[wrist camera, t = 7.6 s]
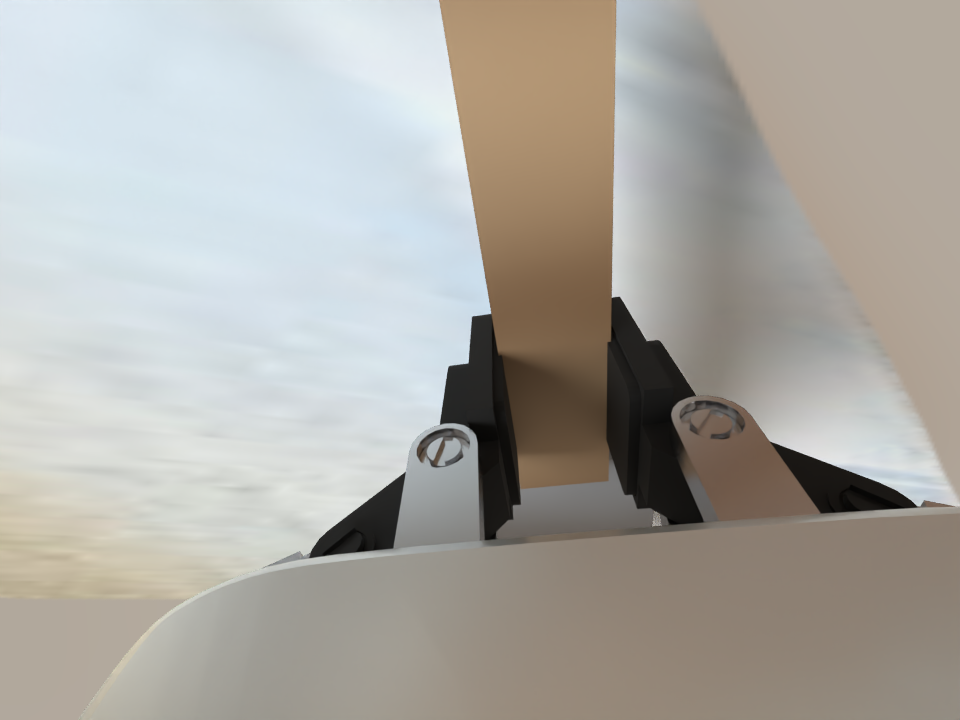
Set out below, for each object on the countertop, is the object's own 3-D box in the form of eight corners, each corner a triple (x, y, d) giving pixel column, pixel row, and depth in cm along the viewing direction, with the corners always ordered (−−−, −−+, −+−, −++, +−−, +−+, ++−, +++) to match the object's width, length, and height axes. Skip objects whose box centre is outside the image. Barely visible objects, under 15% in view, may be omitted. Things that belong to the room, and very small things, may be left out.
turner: (350, -64, 8) (287, -121, 5) (672, -140, 7) (769, -244, 5) (493, 525, 18) (494, 598, 15) (630, 513, 17) (653, 588, 15)
